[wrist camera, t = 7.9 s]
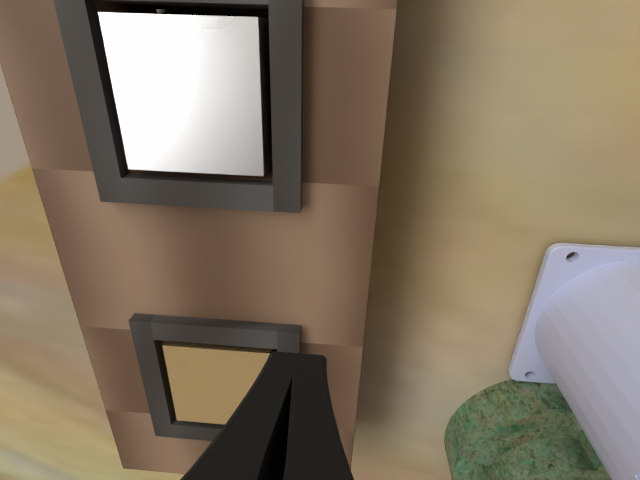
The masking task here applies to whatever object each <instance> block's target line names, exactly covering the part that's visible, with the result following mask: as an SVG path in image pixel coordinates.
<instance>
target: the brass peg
mask: <svg viewBox="0 0 640 480" xmlns="http://www.w3.org/2000/svg"><path fill="white" fill-rule="evenodd" d="M162 346H163V351H164V356H165V362H166V367H167V372H168V377H169V382H170V387H171V393H172V398H173V403H174V408H175V413H176V419H177V420H178V421H190V422H201V423H213V424H226V423H227V421H228V420H229V418H230V417H231V416H232V414H233V413H234V411H235V410H236V408H237V407H238V406H239V404H240V403H241V401H242V400H243V398H244V397H245V395H246V394H247V392H248V391H249V389H250V388H251V386H252V385H253V383H254V381H255V380H256V378H257V377H258V375H259V373H260V372H261V370H262V368H263V366H264V364H265V363H266V361H267V359H268V357H269V355H270V354H271V353H272V352H274V351H276V352H277V349H268V348H255V347H242V346H228V345H215V344H202V343H189V342H176V341H165V342H164V344H163V345H162Z"/></svg>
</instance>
